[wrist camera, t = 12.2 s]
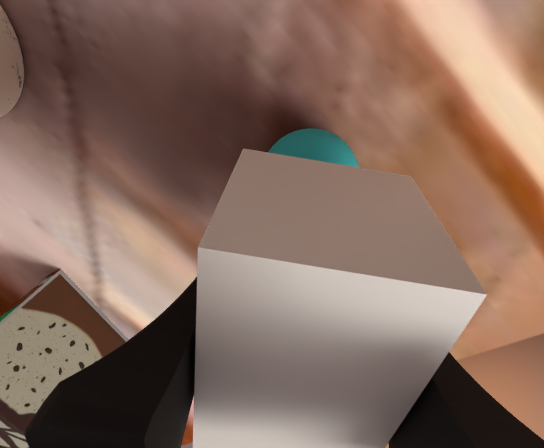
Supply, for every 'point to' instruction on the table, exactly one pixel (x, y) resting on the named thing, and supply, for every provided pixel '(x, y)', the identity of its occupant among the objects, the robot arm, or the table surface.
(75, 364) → the food container
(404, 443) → the robot arm
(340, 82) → the table surface
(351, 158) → the ball
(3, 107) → the teacup with lid
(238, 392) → the white block
